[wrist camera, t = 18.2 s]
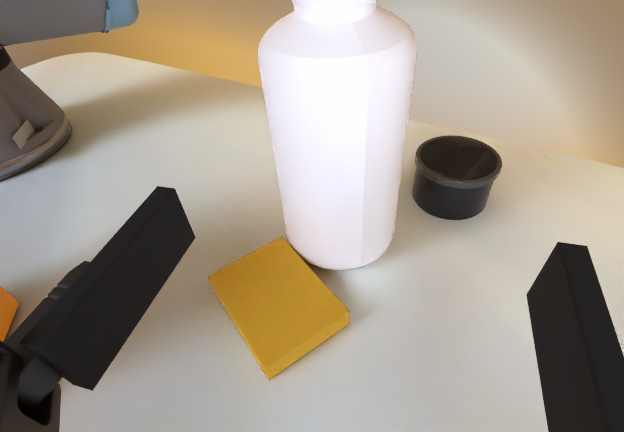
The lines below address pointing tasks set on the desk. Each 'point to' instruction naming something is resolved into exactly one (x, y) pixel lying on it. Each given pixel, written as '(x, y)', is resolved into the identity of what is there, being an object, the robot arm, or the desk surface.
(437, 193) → the dark tin
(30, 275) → the desk surface
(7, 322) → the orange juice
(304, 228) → the potion bottle
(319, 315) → the mustard block
